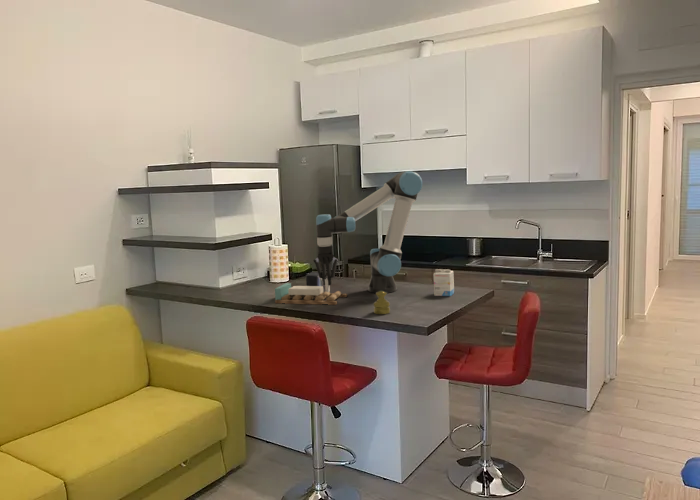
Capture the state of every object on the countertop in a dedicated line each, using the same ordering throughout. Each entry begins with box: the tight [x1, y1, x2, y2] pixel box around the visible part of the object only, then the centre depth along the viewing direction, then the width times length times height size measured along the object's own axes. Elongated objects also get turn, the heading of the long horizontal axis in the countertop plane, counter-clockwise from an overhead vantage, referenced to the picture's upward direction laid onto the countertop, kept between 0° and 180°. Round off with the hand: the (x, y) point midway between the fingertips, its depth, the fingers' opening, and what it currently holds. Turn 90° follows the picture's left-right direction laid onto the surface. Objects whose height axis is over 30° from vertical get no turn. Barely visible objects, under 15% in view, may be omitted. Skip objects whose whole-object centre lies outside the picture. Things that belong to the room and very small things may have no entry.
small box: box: [305, 271, 323, 286], centre depth 301 cm, size 11×6×10 cm, turn 168°
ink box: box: [432, 268, 455, 297], centre depth 282 cm, size 9×8×13 cm
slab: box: [288, 285, 324, 295], centre depth 284 cm, size 16×8×3 cm, turn 74°
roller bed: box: [274, 290, 348, 306], centre depth 283 cm, size 32×19×3 cm, turn 73°
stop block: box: [274, 282, 292, 300], centre depth 287 cm, size 3×14×7 cm, turn 163°
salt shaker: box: [372, 291, 391, 315], centre depth 250 cm, size 7×8×10 cm
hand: (327, 291), depth 280 cm, fingers closed
